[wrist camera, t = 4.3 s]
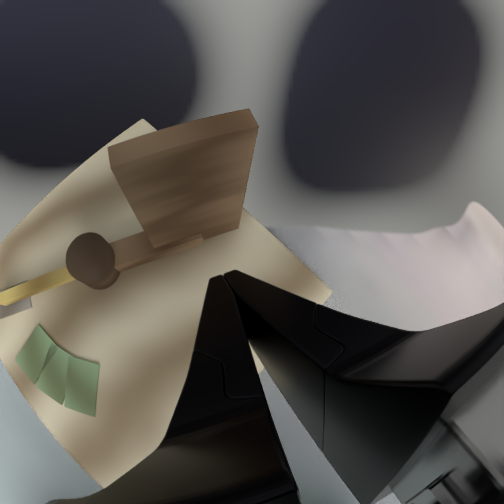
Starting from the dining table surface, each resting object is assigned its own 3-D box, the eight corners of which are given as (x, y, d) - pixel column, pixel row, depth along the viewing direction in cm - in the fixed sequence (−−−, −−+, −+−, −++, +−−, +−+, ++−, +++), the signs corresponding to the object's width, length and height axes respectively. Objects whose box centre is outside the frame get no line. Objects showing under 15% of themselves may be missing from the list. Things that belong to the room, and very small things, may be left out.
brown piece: (10, 322, 16) (-91, 292, 6) (4, 282, 17) (-88, 236, 7) (243, 242, 20) (269, 146, 10) (228, 202, 20) (240, 92, 11)
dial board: (327, 294, 21) (333, 291, 19) (119, 493, 14) (114, 500, 13) (144, 125, 23) (142, 116, 22) (-27, 289, 17) (-35, 286, 16)
